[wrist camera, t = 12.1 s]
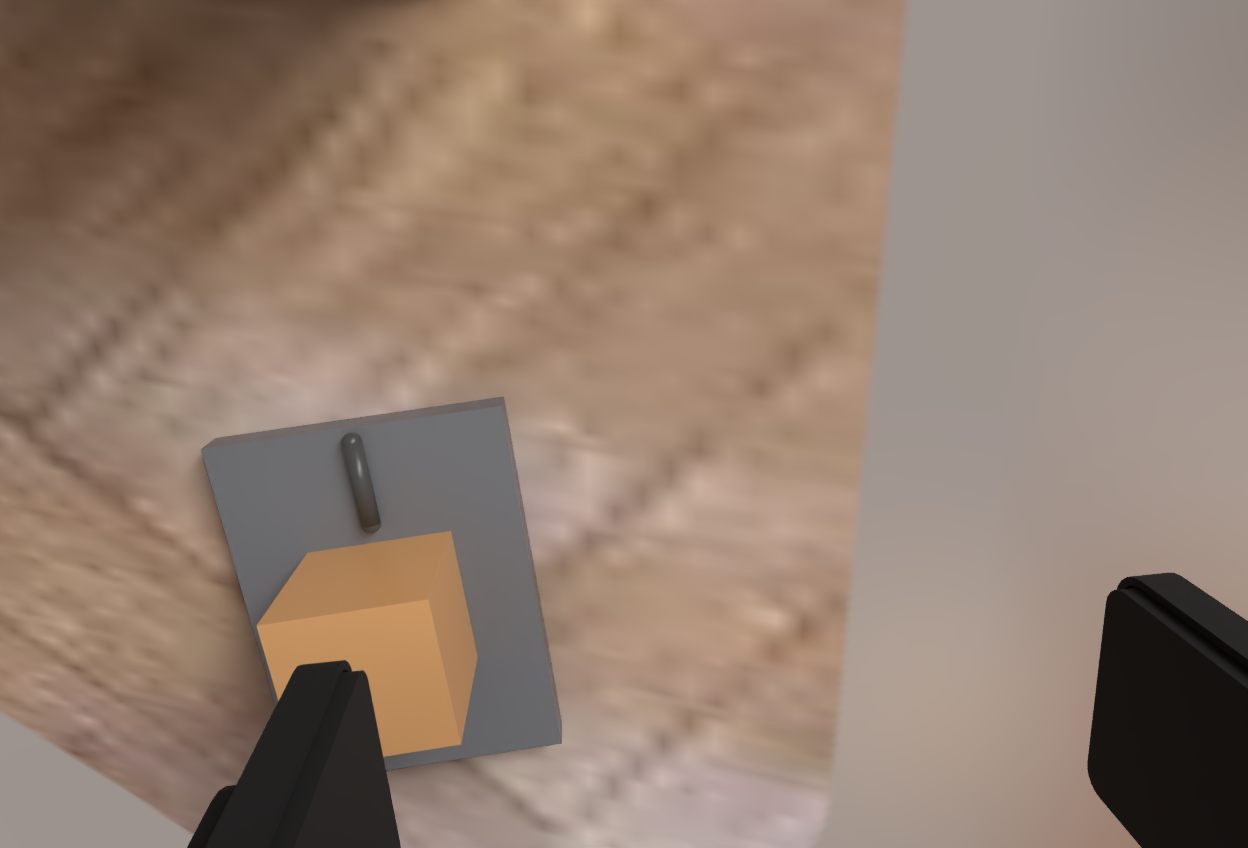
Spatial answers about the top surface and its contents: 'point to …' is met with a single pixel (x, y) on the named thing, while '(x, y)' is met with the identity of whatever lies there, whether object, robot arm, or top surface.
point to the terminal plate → (400, 508)
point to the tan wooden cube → (383, 633)
